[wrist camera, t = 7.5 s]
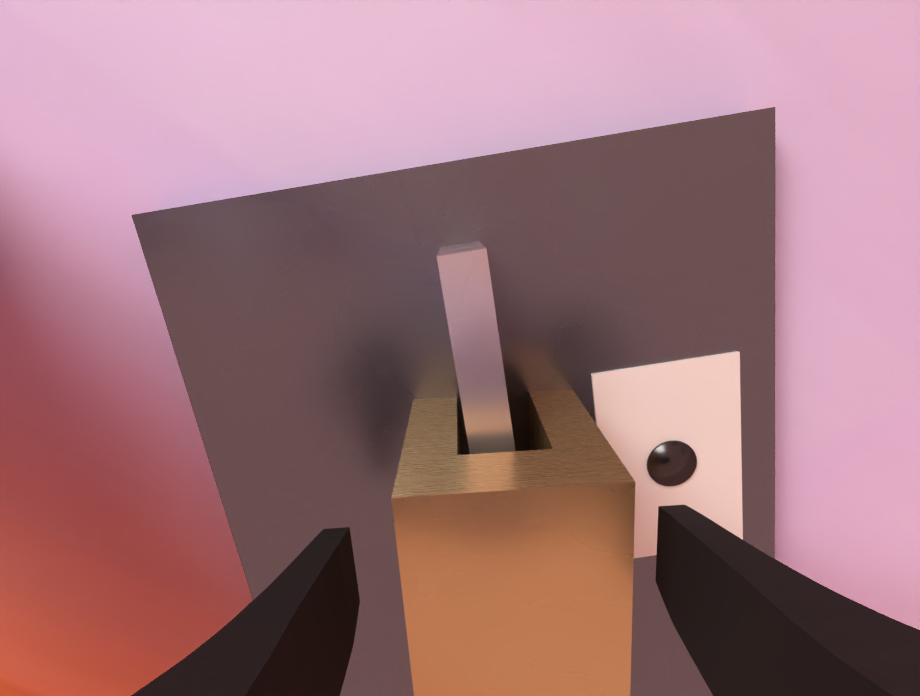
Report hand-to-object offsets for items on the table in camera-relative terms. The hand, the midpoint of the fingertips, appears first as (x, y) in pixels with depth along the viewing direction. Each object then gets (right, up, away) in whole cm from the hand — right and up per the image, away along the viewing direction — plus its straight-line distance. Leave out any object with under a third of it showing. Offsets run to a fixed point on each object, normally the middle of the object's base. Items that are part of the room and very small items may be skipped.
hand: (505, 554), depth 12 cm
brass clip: (0, +1, +3) cm, 3 cm away
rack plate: (0, 0, +4) cm, 4 cm away
